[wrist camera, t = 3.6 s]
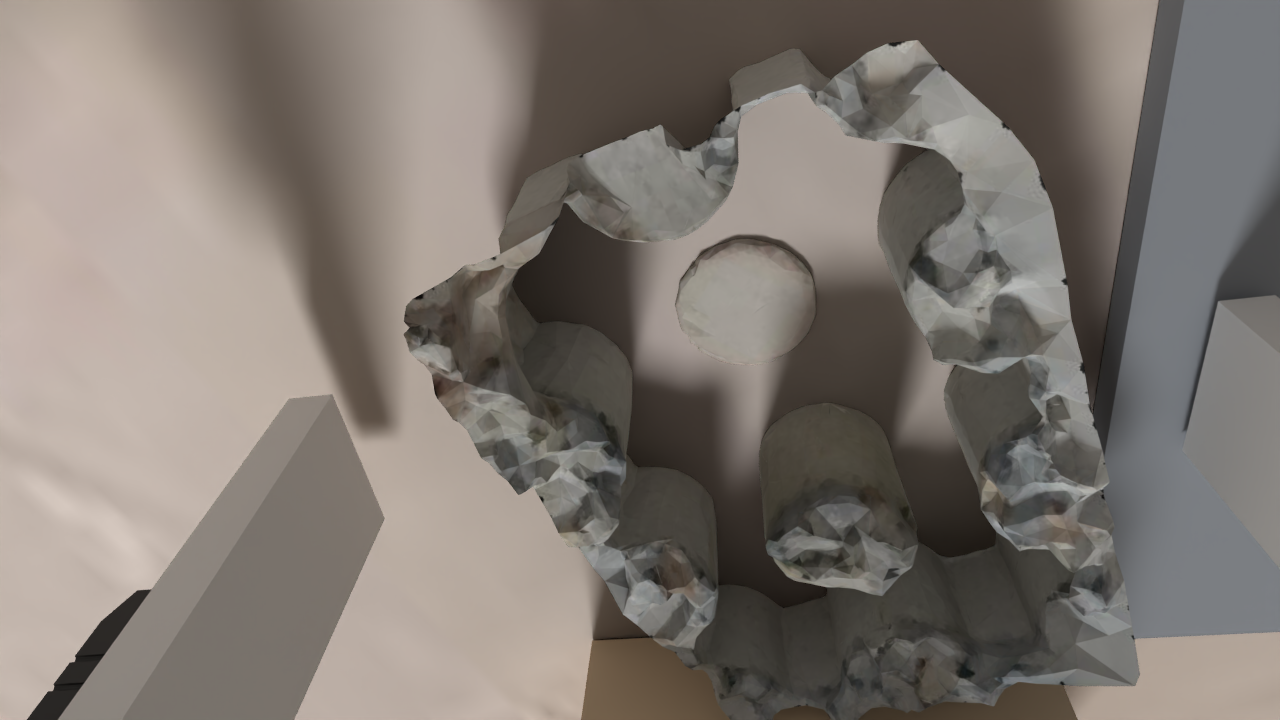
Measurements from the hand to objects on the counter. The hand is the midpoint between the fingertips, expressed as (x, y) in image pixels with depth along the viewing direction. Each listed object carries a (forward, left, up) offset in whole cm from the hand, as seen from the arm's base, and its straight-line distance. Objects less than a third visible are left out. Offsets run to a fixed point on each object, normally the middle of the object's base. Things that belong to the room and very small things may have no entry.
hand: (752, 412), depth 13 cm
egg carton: (-1, 0, -1) cm, 1 cm away
